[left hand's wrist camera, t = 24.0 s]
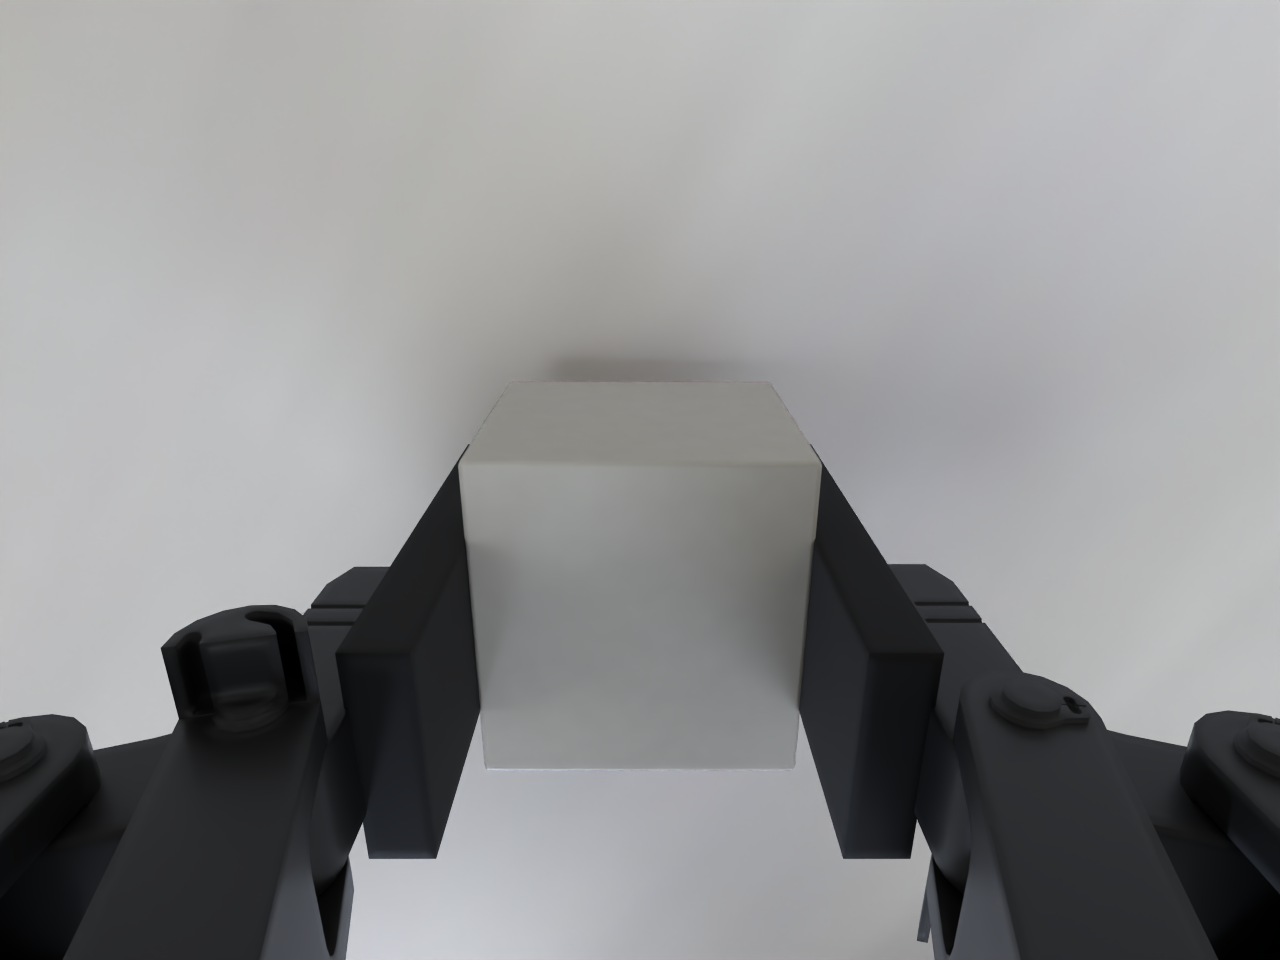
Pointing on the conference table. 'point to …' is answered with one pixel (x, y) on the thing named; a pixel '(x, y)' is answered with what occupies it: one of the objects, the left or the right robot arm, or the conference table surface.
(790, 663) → the block
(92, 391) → the conference table surface
